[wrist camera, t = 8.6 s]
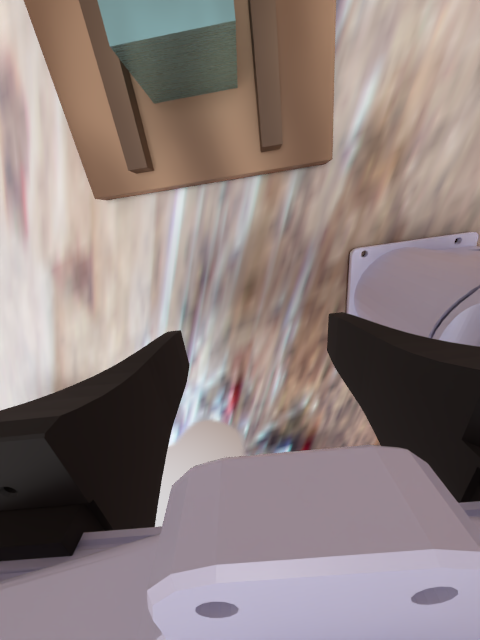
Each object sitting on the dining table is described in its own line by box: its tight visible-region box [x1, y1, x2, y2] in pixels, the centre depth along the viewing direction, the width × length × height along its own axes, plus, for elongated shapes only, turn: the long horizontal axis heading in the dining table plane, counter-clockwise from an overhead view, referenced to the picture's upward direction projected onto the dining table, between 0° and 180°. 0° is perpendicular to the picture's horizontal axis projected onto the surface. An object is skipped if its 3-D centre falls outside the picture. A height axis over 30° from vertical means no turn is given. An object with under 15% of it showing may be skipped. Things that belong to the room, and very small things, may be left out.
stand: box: [24, 0, 336, 200], centre depth 12 cm, size 16×16×3 cm
